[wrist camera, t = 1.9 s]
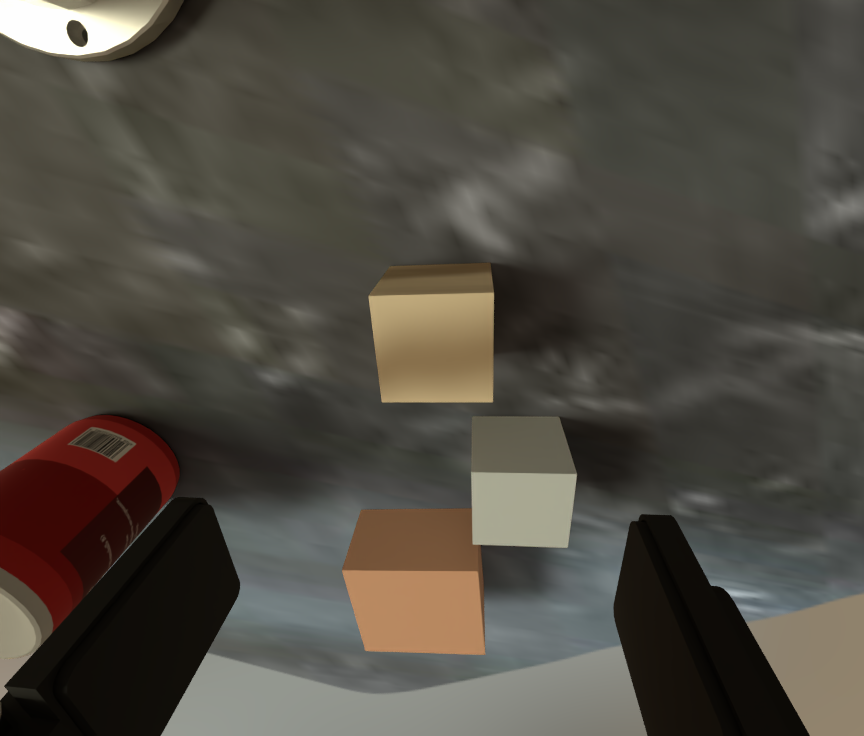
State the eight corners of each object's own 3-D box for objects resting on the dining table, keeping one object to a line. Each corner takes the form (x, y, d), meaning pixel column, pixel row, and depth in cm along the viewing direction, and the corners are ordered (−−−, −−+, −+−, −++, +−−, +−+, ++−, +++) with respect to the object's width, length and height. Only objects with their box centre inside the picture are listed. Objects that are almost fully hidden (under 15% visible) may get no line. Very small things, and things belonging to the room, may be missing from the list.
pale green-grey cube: (471, 415, 25) (471, 472, 21) (558, 415, 25) (577, 474, 20) (472, 480, 28) (472, 544, 23) (552, 482, 27) (567, 547, 23)
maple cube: (390, 265, 22) (368, 295, 17) (490, 262, 21) (494, 292, 17) (399, 355, 24) (381, 402, 20) (489, 354, 23) (492, 402, 19)
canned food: (44, 423, 28) (-179, 566, 19) (143, 399, 27) (-46, 543, 17) (113, 507, 32) (-48, 667, 22) (204, 490, 30) (74, 655, 20)
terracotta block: (361, 507, 30) (342, 570, 25) (477, 506, 29) (478, 571, 24) (380, 583, 33) (365, 650, 29) (483, 585, 32) (484, 654, 28)
